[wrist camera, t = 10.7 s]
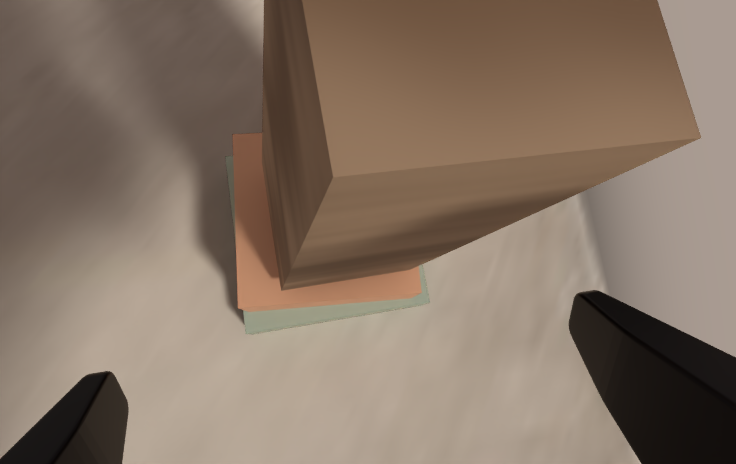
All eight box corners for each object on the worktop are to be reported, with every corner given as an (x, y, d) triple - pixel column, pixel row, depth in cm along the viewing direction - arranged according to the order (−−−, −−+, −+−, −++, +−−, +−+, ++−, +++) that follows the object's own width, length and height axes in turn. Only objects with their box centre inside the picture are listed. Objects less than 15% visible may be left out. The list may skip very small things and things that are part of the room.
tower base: (419, 306, 24) (429, 302, 21) (254, 334, 23) (246, 333, 20) (390, 154, 25) (396, 134, 23) (235, 174, 24) (225, 156, 22)
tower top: (411, 298, 21) (421, 292, 19) (248, 312, 20) (237, 307, 18) (394, 149, 23) (402, 125, 20) (243, 157, 22) (232, 134, 19)
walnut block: (409, 269, 19) (701, 137, 6) (281, 290, 18) (333, 176, 5) (385, 149, 20) (602, -173, 7) (261, 161, 18) (266, -202, 6)
